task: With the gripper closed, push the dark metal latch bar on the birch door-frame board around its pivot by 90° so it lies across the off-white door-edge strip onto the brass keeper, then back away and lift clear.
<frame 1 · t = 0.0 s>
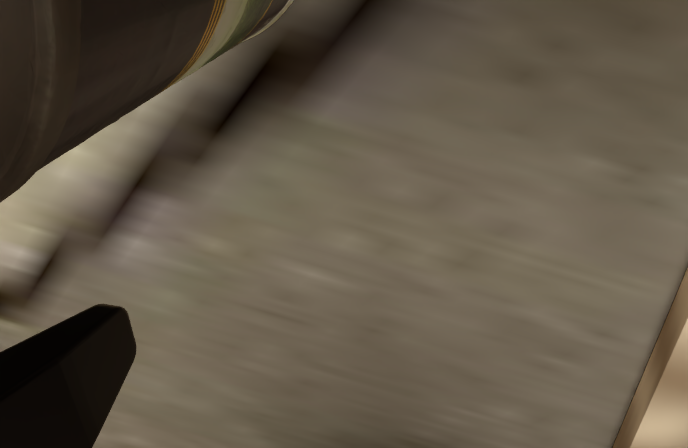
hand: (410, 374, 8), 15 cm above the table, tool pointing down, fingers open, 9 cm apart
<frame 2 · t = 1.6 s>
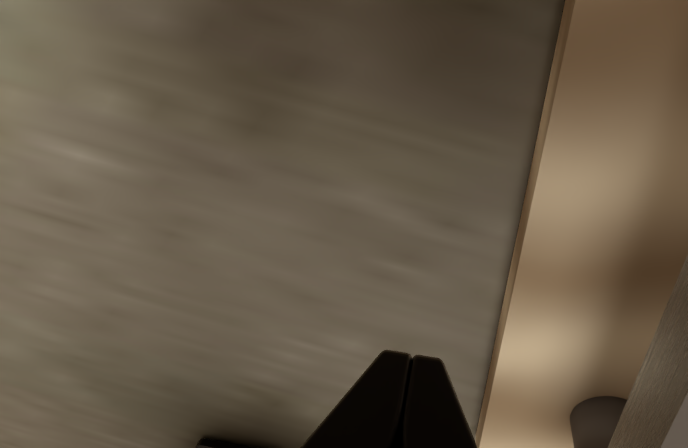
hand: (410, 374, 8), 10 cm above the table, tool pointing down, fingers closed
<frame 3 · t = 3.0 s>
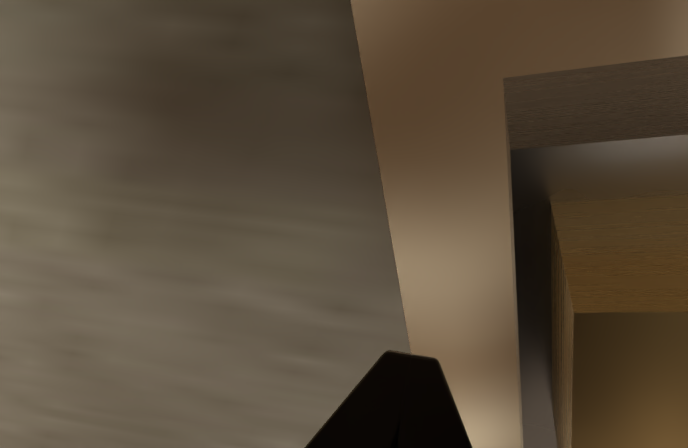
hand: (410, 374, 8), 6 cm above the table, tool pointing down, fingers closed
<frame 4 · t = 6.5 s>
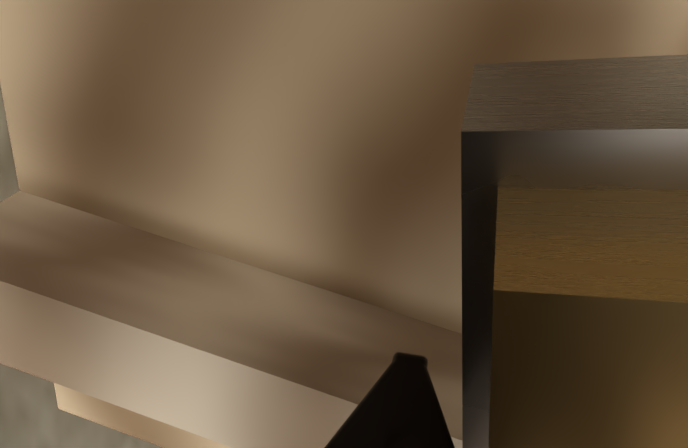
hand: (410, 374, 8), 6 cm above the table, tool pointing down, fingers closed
door frame: (391, 256, 14), on the table
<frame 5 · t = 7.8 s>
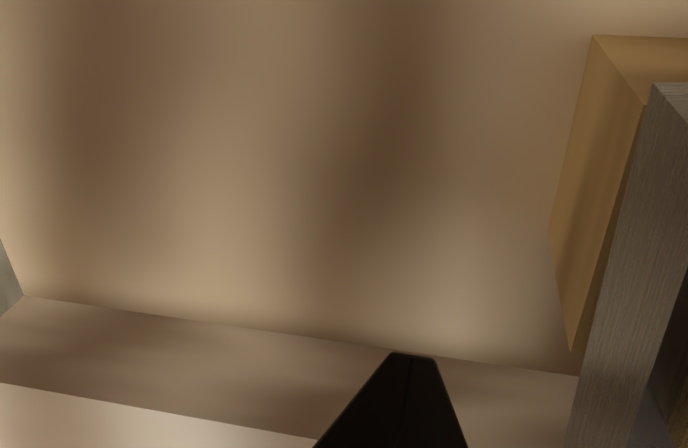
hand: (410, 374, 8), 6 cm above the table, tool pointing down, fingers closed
door frame: (368, 293, 15), on the table
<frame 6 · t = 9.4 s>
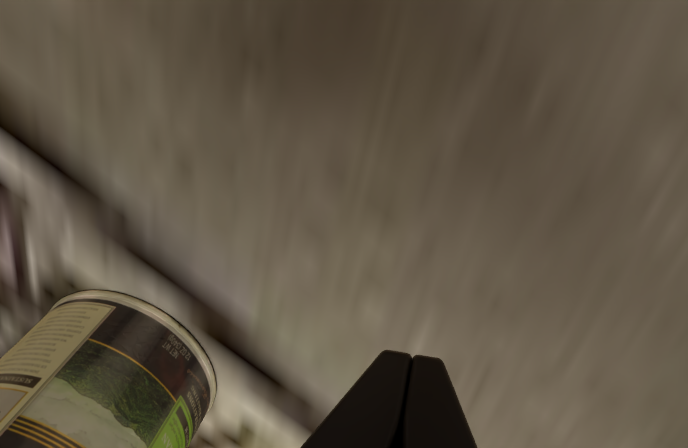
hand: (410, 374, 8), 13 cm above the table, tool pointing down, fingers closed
coffee can: (132, 358, 30), on the table
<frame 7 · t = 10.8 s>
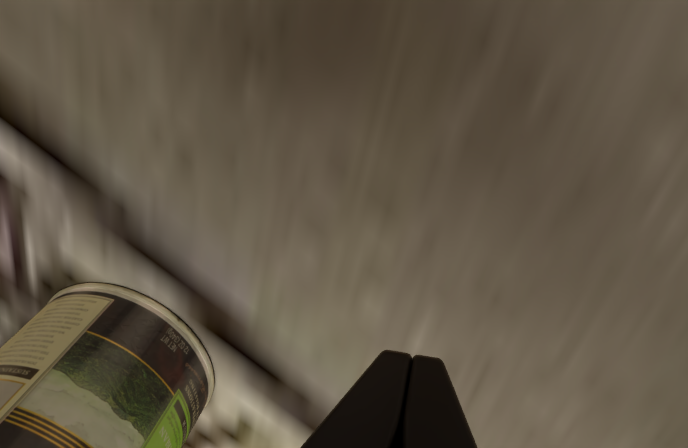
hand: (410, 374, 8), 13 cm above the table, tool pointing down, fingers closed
coffee can: (130, 352, 30), on the table
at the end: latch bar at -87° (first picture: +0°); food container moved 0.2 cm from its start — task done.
